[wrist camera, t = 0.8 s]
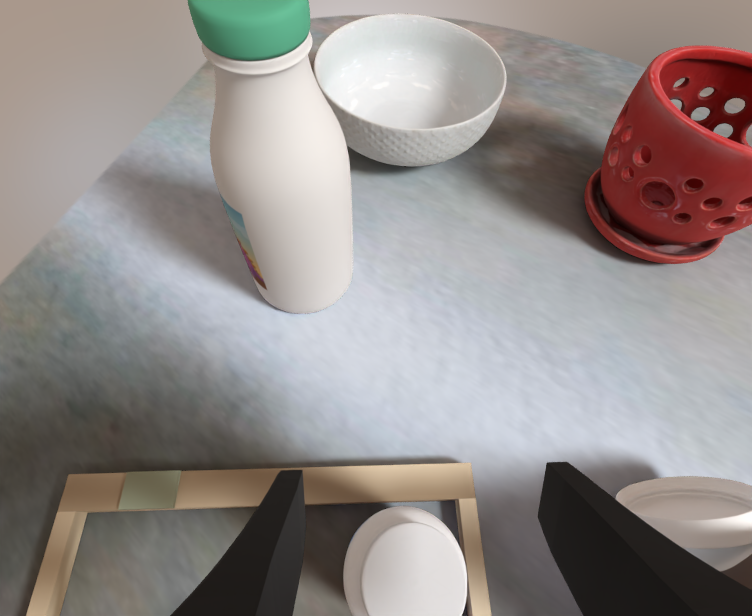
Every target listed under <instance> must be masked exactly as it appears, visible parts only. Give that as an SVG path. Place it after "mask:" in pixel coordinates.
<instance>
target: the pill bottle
mask: <svg viewBox="0 0 752 616" xmlns="http://www.w3.org/2000/svg"><path fill="white" fill-rule="evenodd" d="M343 581H344V591H345V596H346V600H347V603H348V606H349V608H350V611H351V613H352V615H353V616H462V614H463V611H464V608H465V603H466V597H467V571H466V565H465V561H464V557H463V554H462V551H461V549H460V547H459V545H458V543H457V541H456V539H455V537H454V536H453V534H452V533H451V531H450V530H449V529H448V528H447V526H446V525H445V524H444V523H443V522H442V521H441V520H439V519H438V518H437V517H435V516H434V515H432V514H431V513H429V512H427V511H425V510H422V509H419V508H415V507H410V506H396V507H391V508H387V509H384V510H382V511H380V512H378V513H376V514H374V515H373V516H371V517H370V518H369V519H367V520H366V521H365V522H364V523H363V524H362V525H361V526H360V527H359V528H358V529H357V531H356V532H355V534H354V535H353V537H352V539H351V541H350V543H349V546H348V550H347V553H346V557H345V562H344V571H343Z"/></svg>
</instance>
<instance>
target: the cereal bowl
mask: <svg viewBox="0 0 752 616" xmlns="http://www.w3.org/2000/svg"><path fill="white" fill-rule="evenodd" d="M314 76H315V79H316V81H317V83H318V86H319V88H320V90H321V92H322V94H323V95H324V97H325V99H326V100H327V102H328V104H329V105H330V107H331V109H332V110H333V112H334V114H335V116H336V118H337V120H338V122H339V124H340V126H341V129H342V131H343V134H344V138H345V141H346V144H347V145H348V146H349V147H350V148H352V149H354V150H355V151H356V152H358V153H360V154H362V155H364V156H366V157H369V158H370V159H374V160H376V161H379V162H383V163H386V164H392V165H398V166H408V167H409V166H412V167H414V166H424V165H432V164H438V163H440V162H444V161H446V160H448V159H452V158H454V157H455V156H457V155H460V154H461V153H463V152H464V151H467V150H468V149H469V148H470V147H472V146H473V145H474V144H475V143H476V142H477V141H479V139H480V138H481V137H482V136H483V135H484V133H485V132H486V130H487V129H488V128H489V126H490V124H491V123H492V121H493V119H494V117H495V115H496V113H497V110H498V108H499V106H500V103H501V101H502V98H503V94H504V91H505V87H506V71H505V67H504V64H503V62H502V60H501V58H500V57H499V55H498V54H497V53H496V51H495V50H494V49H493V48H492V47H491V46H490V45H489V44H488V43H487V42H486V41H484V40H483V39H482V38H480V37H479V36H477V35H476V34H474V33H472V32H471V31H469V30H467V29H465V28H463V27H460V26H458V25H456V24H453V23H450V22H447V21H444V20H441V19H437V18H433V17H428V16H422V15H414V14H383V15H376V16H370V17H366V18H362V19H359V20H356V21H353V22H351V23H349V24H347V25H344V26H342V27H341V28H339V29H337V30H336V31H334V32H333V33H332V34H331V35H329V36H328V37H327V38H326V39H325V41H324V42H323V43H322V44H321V46H320V47H319V49H318V51H317V53H316V56H315V60H314Z"/></svg>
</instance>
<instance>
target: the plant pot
mask: <svg viewBox="0 0 752 616" xmlns="http://www.w3.org/2000/svg"><path fill="white" fill-rule="evenodd" d="M681 78H685V81H684V82H683V83H682V84H681V85H680V86H678V87H674V88H673V85H674V83H675V82H676V81H677V80H679V79H681ZM707 87H712V88H713V89H714V92H713V93H712V94H711V95H709V96H706V97H701V96H700V95H699V93H700V92H701V91H702V90H703V89H704V88H707ZM732 98H740V99H743V100H744V101H745V107H744V109H743V110H741V111H740V112H738V113H734V114H731V113H727V112H726V111H725V109H724V106H725V103H726V102H727V101H728V100H730V99H732ZM672 99H678V100H680V101H681V102H682V107H681V110H679V109H678V108H677V107H676V106H675V105H674V104H673V103H672V102H671V101H670V100H672ZM698 107H706V108H708V109H709V110H710V114H709V115H708V116H707V118H705V119H703V120H701V121H695V120H692V119H691V114H692V112H693V111H694V110H695V109H696V108H698ZM722 123H727V124H729V125H731V126H732V127H733V133H732V134H731V135H730V136H729V137H728V138H725V137H723V136H720V135H718V134H716V133H714V132H713V131H714V128H715V127H716V126H717V125H719V124H722ZM750 125H752V53H749V52H745V51H740V50H736V49H731V48H724V47H716V46H685V47H680V48H675V49H672V50H669V51H666V52H664V53H662V54H660V55H659V56H658V57H656V58H655V59H654V60H653V61H652V62H651V63H650V65H649V66H648V67H647V69H646V70H645V72H644V73H643V75H642V76H641V78H640V80H639V81H638V83H637V84H636V86H635V88H634V89H633V91H632V93H631V94H630V96H629V98H628V100H627V101H626V103H625V105H624V107H623V109H622V111H621V113H620V115H619V117H618V119H617V120H616V123H615V125H614V127H613V129H612V131H611V134H610V136H609V139H608V142H607V145H606V148H605V151H604V155H603V160H602V167H600V168H599V169H597V170H596V171H595V172H594V173H593V174H592V176H591V177H590V178H589V180H588V182H587V185H586V188H585V205H586V209H587V212H588V214H589V217H590V219H591V220H592V222H593V224H594V225H595V227H596V228H597V229H598V230H599V232H600V233H601V234H602V235H603V236H604V237H605V238H606V239H607V240H608V241H610V242H611V243H612V244H613V245H615V246H616V247H618V248H619V249H621V250H623V251H625V252H627V253H628V254H631V255H633V256H636V257H638V258H641V259H645V260H648V261H653V262H658V263H668V264H680V263H688V262H693V261H697V260H700V259H702V258H704V257H706V256H708V255H709V254H711V253H712V252H714V251H715V250H716V249H717V248H718V247H719V245H720V244H721V243H722V241H723V239H724V236H725V235H727V234H730V233H733V232H735V231H738V230H740V229H742V228H744V227H746V226H749V225H751V224H752V147H751V146H749V145H748V143H747V141H746V131H747V130H748V128H749V127H750Z"/></svg>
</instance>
